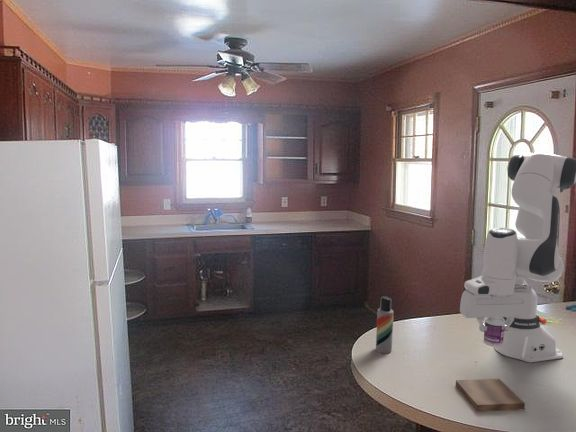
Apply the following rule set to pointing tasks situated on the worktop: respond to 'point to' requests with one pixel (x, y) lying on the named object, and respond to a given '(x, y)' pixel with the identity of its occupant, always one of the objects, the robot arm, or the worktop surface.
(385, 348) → the lotion bottle
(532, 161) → the robot arm
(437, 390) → the worktop surface
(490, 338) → the pill bottle
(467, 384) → the walnut board
